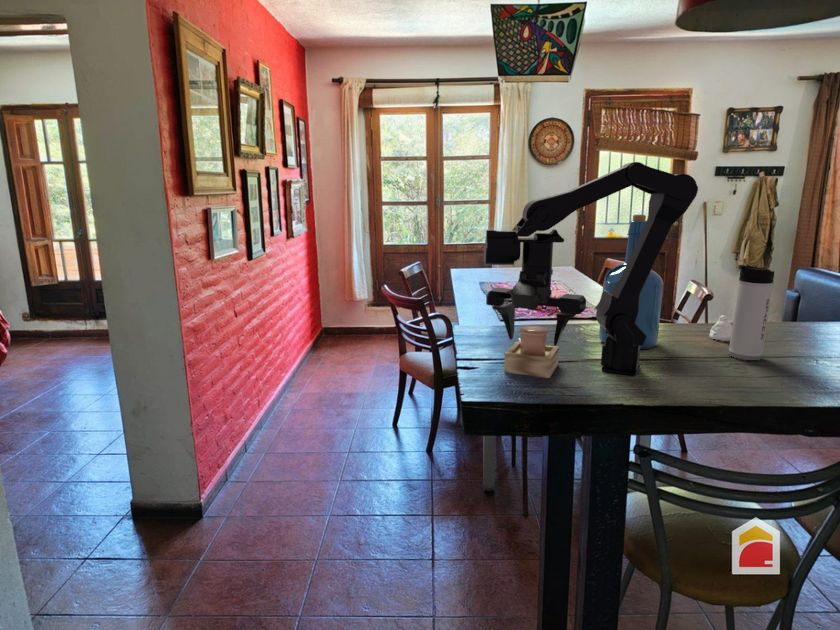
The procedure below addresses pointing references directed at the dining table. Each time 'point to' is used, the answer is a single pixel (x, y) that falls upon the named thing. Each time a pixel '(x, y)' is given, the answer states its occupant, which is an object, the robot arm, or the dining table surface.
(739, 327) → the travel mug
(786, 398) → the dining table surface
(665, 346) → the dining table surface
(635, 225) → the blue bottle
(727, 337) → the garlic bulb
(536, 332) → the terracotta cup
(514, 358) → the oak riser block
